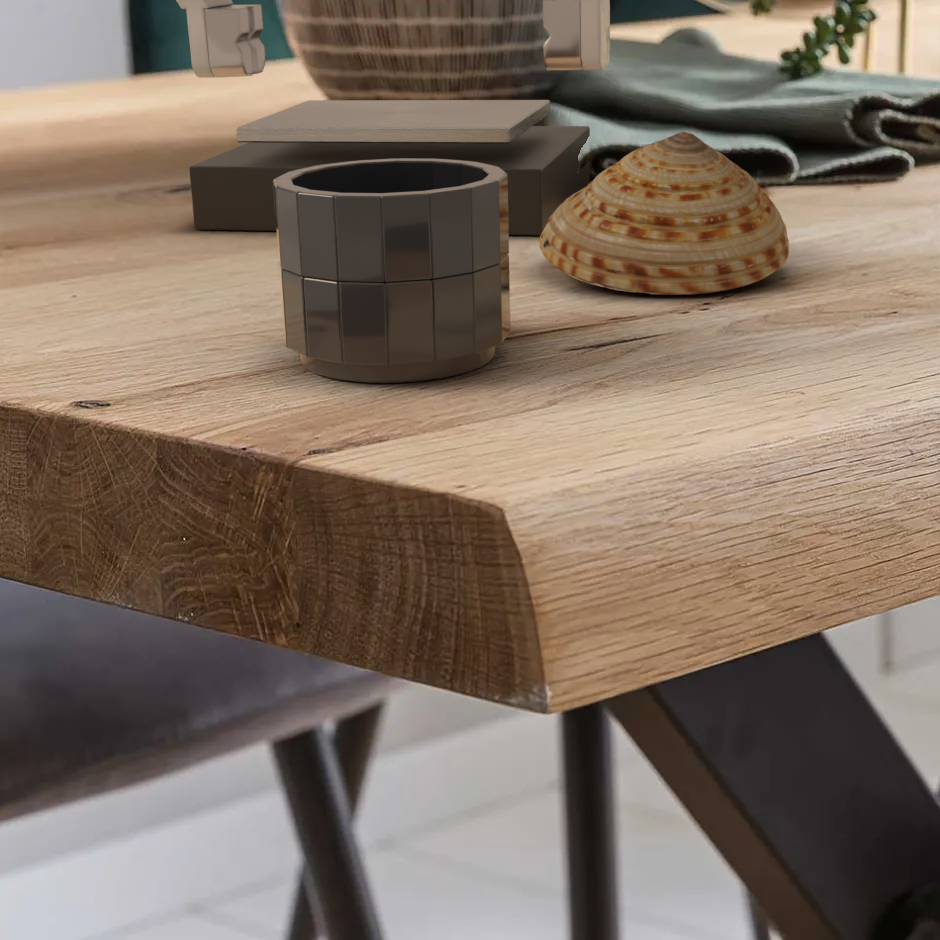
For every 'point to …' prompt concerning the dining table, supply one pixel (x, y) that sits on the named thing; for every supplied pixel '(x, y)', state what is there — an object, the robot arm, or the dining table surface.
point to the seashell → (668, 224)
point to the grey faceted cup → (394, 267)
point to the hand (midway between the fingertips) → (399, 72)
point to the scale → (257, 164)
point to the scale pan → (397, 121)
